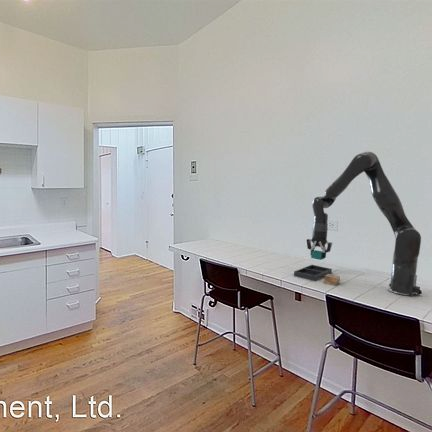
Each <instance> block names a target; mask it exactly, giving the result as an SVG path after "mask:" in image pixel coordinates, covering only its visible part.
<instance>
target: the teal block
mask: <svg viewBox="0 0 432 432" xmlns="http://www.w3.org/2000/svg"><path fill="white" fill-rule="evenodd" d="M322 253H323V251H322V250H317V249H314V251H312V252H311V251H310V254H311V255H310V258H311V259H314V260H319V261H321V260H323V259H322Z"/></svg>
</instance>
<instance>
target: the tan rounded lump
mask: <svg viewBox="0 0 432 432" xmlns="http://www.w3.org/2000/svg"><path fill="white" fill-rule="evenodd" d="M340 281H341V275H336V274H332V273H331V274H327V275H325V276H324V281H323V282H324V284H329V285H332V286H337V285H339V284H340Z"/></svg>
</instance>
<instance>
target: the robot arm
mask: <svg viewBox="0 0 432 432" xmlns="http://www.w3.org/2000/svg"><path fill="white" fill-rule="evenodd" d="M363 173H364V174H365V175H366V177H367V180H368V181H369V187H370V193H371V196H372V198H373V201H374V202H375V204H376V205H377V207H378V209H379V210H380V212H381V213H382V214H383V216H384V217H385V218H386V219H387V221H388V224H389V225H390V228H391V230H392V232H393V235H394V239H395V242H394V251H393V254H392V265H391V273H390V274H391V275H390V283H389V284H388V287H389V291H390V292H391V293H393V294H397V295H401V296H407V297H413V296H414V295H415V294H417V295H418V296H419V295H421V294H422V293H423V291H422V290H421V287H420V286H418V285H417V279H418V275H417V269H418V260H419V256H420V252H421V243H422V236H421V233H420V232H419V231H418V230H417V229H416V228H415V227H414V226H413V224H412V223H411V221H410V220H409V219H408V216H407V215H406V212H405V210H404V206H403V203H402V201H401V199H400V197H399V196H398V194H397V192H396V190H395V188H394V187H393V185H392V183H391V182H390V180H389V179H388V177H387V175H386V173H385V172H384V169H383V167H382V165H381V162H380V160H379V157H378V156H377V155H376V153H374V152H372V151H364V152H360V153H358V154H356V155H355V156H354V157H353V158H352V160H351V161H350V163H349V164H348V165H347V166H346V167H345V169H344V170H343V172H342V173H340V175H339V176H338V177H336V179H335V180H334V181H333V182H332V183H331V184H330V185H329V186H328V187H327V188H326V189H325V191H324V195H322V196H316V197H314V199H313V200H312V203H311V205H312V211H313V212H312V213H313V225H312V238H307V239H306V246H307V249H308V250H310V256H311V252H312V251H315V250H316V248H317V247H319V248H320V249H321V251H323V253H322V260H324V259H326V258H327V253H330V252H331V249H332V246H333V242H331V241H328V240H327V238H328V221H329V220H328V219H329V214H328V213H327V212H325V210H324V209H328V208H330V207H331V206H332V205H333V204H334V202H335V201H336V200H337V198H338V197H339V196H340V195H341V194H342V193H343V192H344V191H345V190H346V189H347V188H348V187H349V185H350V184H352V181H354V179H355V178H357V177H358V176H360V175H361V174H363ZM326 245H327V246H326Z"/></svg>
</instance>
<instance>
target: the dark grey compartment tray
mask: <svg viewBox="0 0 432 432" xmlns="http://www.w3.org/2000/svg"><path fill="white" fill-rule="evenodd" d="M293 272H294V273H293V276H294V277H297V278H302V279H306V280H310V281H312V282H313V281H317V280H320V279H322V278H325V275H327V274H332V273H333V268H329V267H324V266H321V265H320V266H319V265H316V264H310V265H307V266H305V267H302V268H300V269H296V270H294V271H293Z"/></svg>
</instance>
